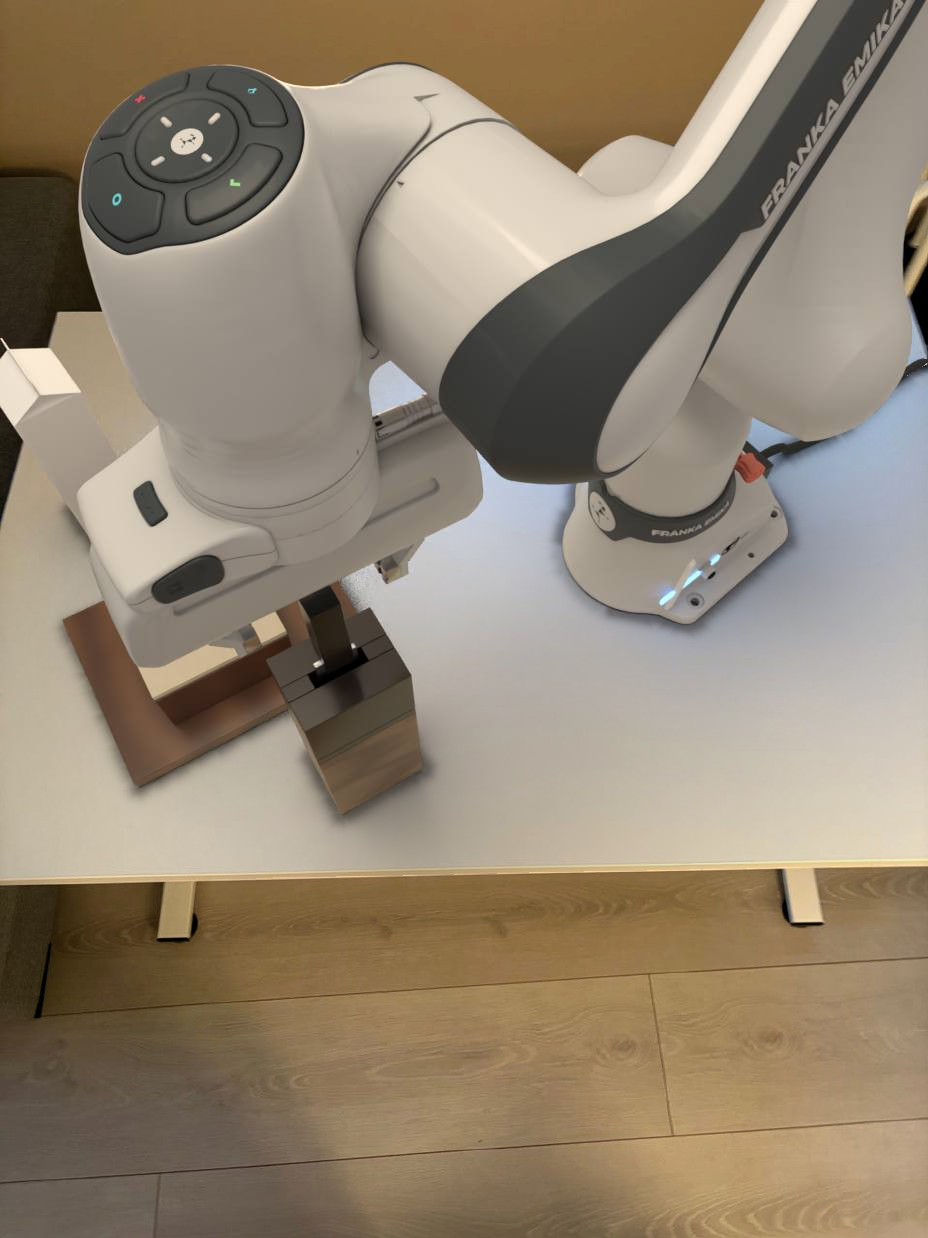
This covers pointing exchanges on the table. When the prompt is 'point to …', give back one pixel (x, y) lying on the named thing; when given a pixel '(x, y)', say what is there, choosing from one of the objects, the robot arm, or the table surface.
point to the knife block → (354, 714)
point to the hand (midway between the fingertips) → (320, 606)
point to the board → (137, 716)
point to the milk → (53, 420)
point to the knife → (328, 635)
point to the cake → (213, 673)
